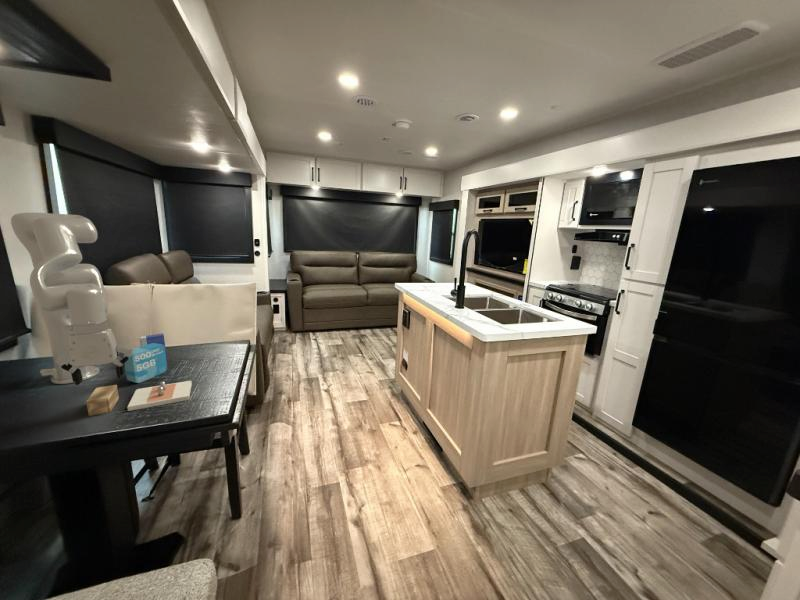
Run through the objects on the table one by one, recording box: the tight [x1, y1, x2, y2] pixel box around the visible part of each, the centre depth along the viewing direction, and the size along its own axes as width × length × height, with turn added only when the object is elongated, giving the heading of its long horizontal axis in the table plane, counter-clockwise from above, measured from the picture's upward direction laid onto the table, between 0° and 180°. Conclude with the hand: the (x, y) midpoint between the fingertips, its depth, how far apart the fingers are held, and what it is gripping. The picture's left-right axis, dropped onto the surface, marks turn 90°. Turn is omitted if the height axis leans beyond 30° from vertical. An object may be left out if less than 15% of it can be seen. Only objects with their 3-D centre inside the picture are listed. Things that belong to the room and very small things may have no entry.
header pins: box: [158, 380, 166, 396], centre depth 105 cm, size 1×5×3 cm, turn 30°
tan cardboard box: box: [85, 384, 120, 417], centre depth 98 cm, size 5×9×5 cm, turn 30°
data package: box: [122, 343, 168, 384], centre depth 117 cm, size 12×4×12 cm, turn 165°
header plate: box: [126, 380, 193, 412], centre depth 106 cm, size 16×12×2 cm
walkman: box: [139, 332, 168, 361], centre depth 130 cm, size 8×3×12 cm, turn 132°
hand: (100, 379), depth 96 cm, fingers open, 9 cm apart
